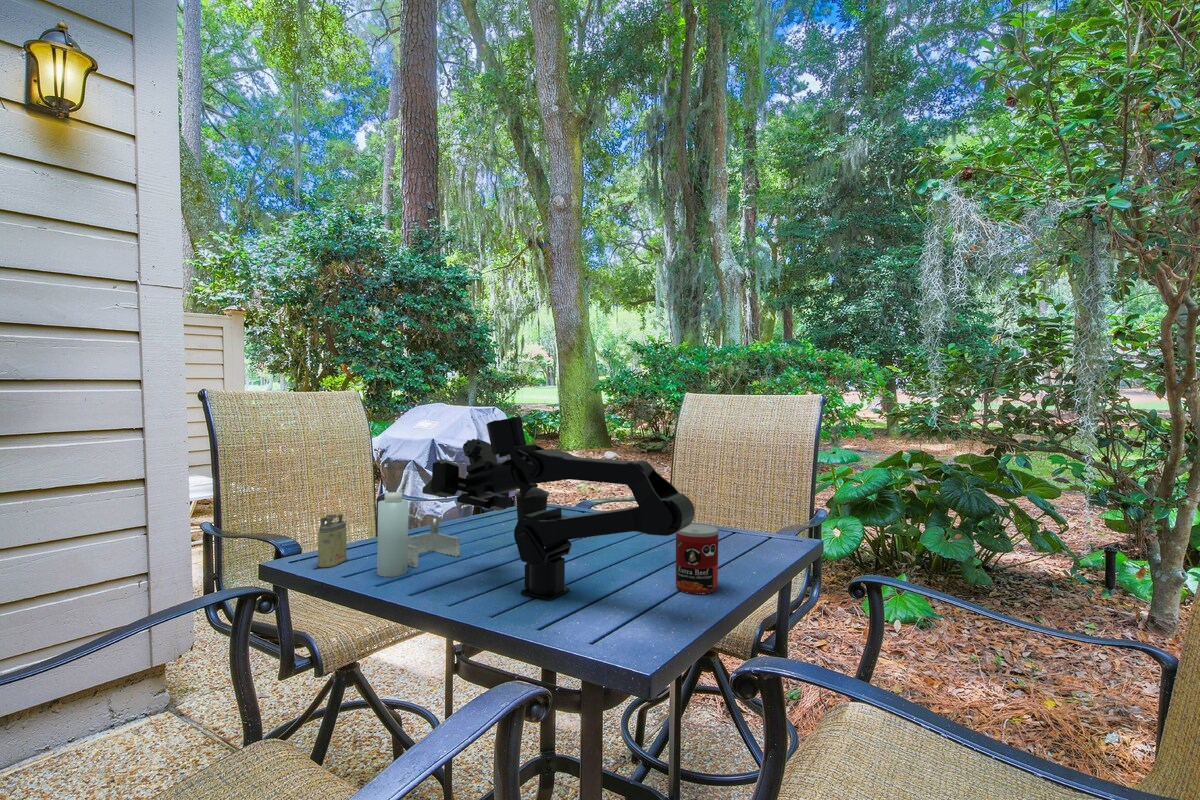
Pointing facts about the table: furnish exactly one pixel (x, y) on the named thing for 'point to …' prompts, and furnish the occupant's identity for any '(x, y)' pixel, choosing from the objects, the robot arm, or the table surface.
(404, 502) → the bottle
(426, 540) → the hook bracket
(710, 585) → the canned food
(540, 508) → the drinking cup
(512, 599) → the table surface
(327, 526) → the lighter
